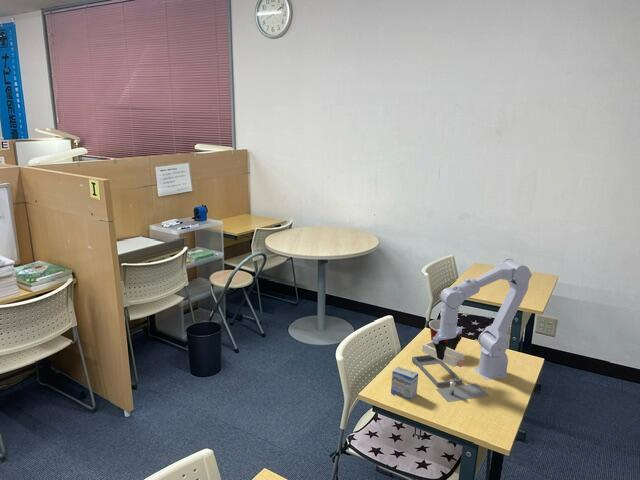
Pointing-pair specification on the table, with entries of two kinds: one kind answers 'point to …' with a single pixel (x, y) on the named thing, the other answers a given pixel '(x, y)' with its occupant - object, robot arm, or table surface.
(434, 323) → the plastic cup
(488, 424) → the table surface
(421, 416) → the table surface
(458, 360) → the cream rectangular sleeve
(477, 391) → the stake base
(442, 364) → the tray
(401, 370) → the medicine box
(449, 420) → the table surface
